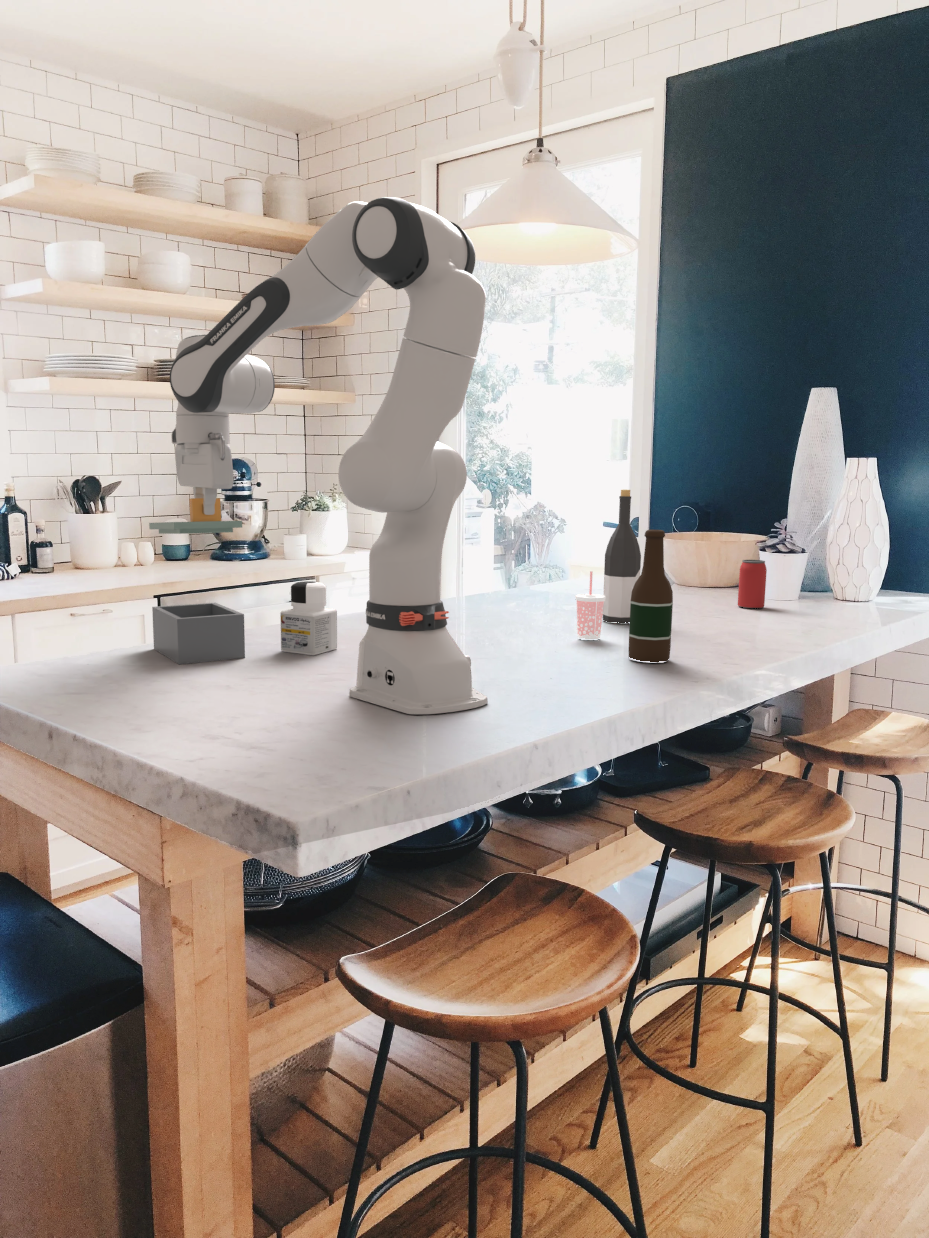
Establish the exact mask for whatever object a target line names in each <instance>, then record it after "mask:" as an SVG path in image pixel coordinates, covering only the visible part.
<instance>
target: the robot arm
mask: <svg viewBox="0 0 929 1238" xmlns="http://www.w3.org/2000/svg"><path fill="white" fill-rule="evenodd" d="M475 265H476V250H475V246H474V243H473V241H472V239H471V238H470V237H469V235H468V234H467V233H466V231H465V230H463V229H462V228H461V227H460V226H459V225H458V224H456V223H455V222H453V221H449V220H447V219H446V218H444V217H442V216H441V215H439V214H438V213H436V211H434V210H432V209H430V208H428V207H425V206H423V205H419V204H416V203H412V202H410V201H408V200H405V199H404V198H401V197H392V196H391V197H390V196H384V197H378V198H375V199H372V200H371V201H369V202H364V201H359V200H358V201H352V202H349V203H348V204H346V205H345V206H343V207H342V208H341V209H339V210H338V211H337V212H336V213H335V214H334V215H332V216H331V217H330V218H329V219H328V220H327V221H326V222H325V223H324V224H323V225H322V226H321V227H320V228H319V229H318V231H316V233H315V234H314V235H312V236H311V238H310V240H308V242H307V243H306V244H305V245H304V246H303V248H302V249H301V250H300V251H299V252H298V253H297V254H296V256H294V257H293V258H292V260H290V261H289V262H288V263H287V264H286V265H285V266H284V267H282V268H281V269H280V270H279V271H277V272H275V274H273V275H272V276H270V277H268V278H267V279H264V280H263V281H262V282H260V283H259V284H258V285H257V286H255V287H254V288H253V289H251V290H250V291H249V292H248V293H247V294H246V295H245V296H244V297H242V299H241V300H239V302H238V303H237V304H236V305H235V306H233V308H232V309H231V310H230V311H229V312H228V313H227V314H226V315H225V316H224V317H222V319H221V320H220V321H219V322H218V323H217V324H215V326H214V327H213V328H211V330H210V331H209V332H208V333H207V334H197V335H196V334H195V335H191V336H188V337H185V338H183V339H182V340H180V342H179V343H178V346H177V349H176V352H175V359H174V361H173V362H172V365H171V367H170V369H169V371H170V372H169V385H170V389H171V391H172V394H173V396H174V398H175V399H176V400H177V409H176V411H175V415H176V416H175V420H176V421H175V427H174V429H173V430H172V432H171V434H170V435H171V443H172V444H173V445H175V448H174V456H175V457H174V459H175V469H176V470H175V471H176V477H177V482H178V484H179V485H180V486H181V487H189V488H190V487H191V488H192V489H193V491H192V492H193V493H192V494H193V497H194V498H203V504H202V513H203V514H205V515H213V514H214V513H215V501H216V498H218V490H229V489H231V490H232V488H233V484H234V467H233V456H232V449H231V447H230V445H229V444H231V443H230V441H231V440H230V439H231V438H230V415H229V414H245V415H246V414H248V415H249V414H254V413H260V412H263V411H264V410H266V408H268V406H270V404H271V402H272V400H273V398H274V395H275V388H276V387H275V386H276V384H275V377H274V373H273V371H272V369H271V367H270V365H269V364H268V363H267V362H266V360H264V359H261V358H258V357H256V356H254V355H251V354H249V353H250V352H251V351H252V350H253V349H254V348H255V347H256V346H257V345H259V343H260V342H262V341H263V340H264V339H266V338H267V337H268V336H271V335H272V334H274V333H277V332H280V331H284V330H288V329H291V328H292V329H294V328H298V327H307V326H308V327H309V326H319V325H320V326H322V325H327V324H330V323H332V322H335V321H336V320H338V319H340V318H341V317H342V316H343V315H345V314H346V313H347V312H349V311H350V310H351V308H353V307H354V305H355V304H357V302H358V301H359V300H360V298H362V296H363V295H364V294H365V292H367V290H368V289H369V288H370V286H372V284H373V283H374V282H375V281H376V280H377V279H378V278H379V279H381V280H382V281H383V282H384V283H386V284H387V285H388V286H390V287H391V288H392V289H393V290H396V291H397V290H398V291H399V290H402V289H403V290H404V291H405V292H406V294H407V296H408V300H409V312H408V317H407V320H406V324H405V328H404V331H403V335H402V339H401V343H400V347H399V350H398V351H399V352H398V355H397V358H396V362H395V366H394V368H393V373H392V377H391V380H390V383H389V387H388V389H387V391H386V394H385V397H384V398H383V400H382V402H381V404H380V407H379V409H378V410H377V412H376V413H375V415H374V417H373V419H372V421H371V423H370V424H369V425H368V426H367V429H366V430H365V432H364V433H363V434H362V436H361V437H360V438H359V439H358V440H357V441H356V442H354V443H353V444H352V445H351V446H350V447H349V448H347V450H346V451H345V452H344V454H343V456H342V457H341V459H340V462H339V465H338V466H339V467H338V482H339V485H340V488H341V491H342V493H343V495H344V497H345V498H346V499H347V500H348V501H349V502H350V503H351V504H353V505H355V506H356V507H359V508H362V509H365V510H368V511H372V512H376V513H386V516H385V519H384V523H383V527H382V529H381V532H380V534H379V536H378V538H377V539H376V541H375V542H374V543H373V544H372V546H371V548H370V551H369V556H368V559H369V562H368V563H369V564H368V565H369V567H368V568H369V569H368V570H369V571H368V573H369V576H368V579H369V581H368V582H369V583H368V584H369V586H368V587H369V588H368V589H369V592H368V593H369V594H368V595H369V598H368V599H369V600H367V602H366V608H365V615H366V616H365V617H366V619H365V620H366V624H367V625H368V626H367V630H366V632H365V634H364V636H362V639H361V640H360V641H359V644H358V657H357V658H358V659H357V672H356V685H354V686H353V687H351V688H350V689H349V693H348V696H349V697H351V698H354V699H357V700H359V701H364V702H366V703H371V704H373V705H377V706H380V707H383V708H387V709H391V710H394V711H397V712H399V713H404V714H407V715H435V714H444V713H453V712H461V711H466V710H470V709H475V708H480V707H482V706H485V705H486V704H488V703H489V701H488V696H487V695H485V694H484V693H481V692H480V691H479V690H477V689H475V688H473V682H472V681H473V680H472V679H473V677H472V668H471V666H472V661H471V657H470V655H468V654H464V652H463V651H462V650H461V648H460V647H459V646H458V643H457V642H456V641H455V639H454V638H453V637H452V635H451V634H450V632H449V630H448V628H447V625H448V620H447V619H449V618H450V617H449V616H446V615H447V614H449V613H450V612H449V611H447V610H445V606H444V602H443V600H441V595H442V594H441V591H442V589H441V588H442V587H441V586H442V584H441V583H442V556H443V548H444V542H445V537H446V532H447V530H448V525H449V521H450V518H451V515H452V512H453V508H454V505H455V503H456V501H457V499H458V498H459V497H460V496H461V495H462V493H463V491H464V489H465V487H466V483H467V476H468V474H467V473H468V472H467V466H466V464H465V461H464V458H463V457H462V456H461V455H460V453H459V452H458V451H457V450H455V449H454V448H452V447H451V446H449V445H447V444H446V443H445V444H444V443H442V442H441V441H439V439H440V437H441V435H442V434H443V433H444V431H445V429H446V427H447V426H448V425H449V423H450V422H451V421H453V420H454V418H456V417H457V416H458V415H459V414H460V412H461V410H462V408H463V407H464V402H465V399H466V394H467V392H468V388H469V384H470V380H471V377H472V374H473V373H472V372H473V370H474V365H475V362H476V358H477V355H478V351H479V347H480V345H481V344H480V343H481V339H482V332H483V328H484V327H483V326H484V319H485V311H486V302H487V301H486V297H487V296H486V295H487V294H486V291H485V288H484V286H483V285H482V283H481V281H480V280H478V279H477V278H476V277H475V276H474V275H473V273H474V269H475Z"/></svg>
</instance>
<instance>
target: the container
mask: <svg viewBox="0 0 929 1238" xmlns="http://www.w3.org/2000/svg"><path fill="white" fill-rule="evenodd" d="M290 600H291V601H290V606H291V607H292V608H291V609H286V610H281V611H280V613H279V614H280V617H279V618H280V650H281V652H284V653H292V654H300V655H306V656H317V655H320V654H324V653H327V652H331V651H334V650H337V649H338V611H337V609H335V608H327V607H326V606H327V585H325V584H324V582H321V581H313V580H312V581H308V580H307V581H297V582H295V583H293V584H291V586H290Z"/></svg>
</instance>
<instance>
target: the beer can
mask: <svg viewBox="0 0 929 1238" xmlns="http://www.w3.org/2000/svg"><path fill="white" fill-rule="evenodd" d="M738 577H739V578H738V592H737V593H738V594H737V605H738V608H741V607H743V608H742V609H745V608H755V609H754V610H759V609H758V608H761V609H763V608H764V607H765V602H766V600H765V598H766V586H767V566H766V561H765V560H761V559H742V563H741V565H740V568H739V576H738ZM756 608H757V609H756Z"/></svg>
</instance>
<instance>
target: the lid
mask: <svg viewBox="0 0 929 1238" xmlns="http://www.w3.org/2000/svg"><path fill="white" fill-rule="evenodd" d="M188 500H189V516H190V521H169V522H165V521H163V522H161V521H160V522H148V523H149V524H148V526H149V530H158V534H163V535H164V534H165V535H167V534H168V535H169V534H172V535H173V534H176V535H177V534H178V535H181V534H213V533H214V534H216V533H218V534H220V533H234V529H235V528H236V529H237V528H239V529H240V528H243V520H222V506H221V498H220V497H216V501H215V513H214V514H213V515H205V514H203V513H202V504H203V498H193V497H192V498H191V497H190V498H188Z"/></svg>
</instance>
